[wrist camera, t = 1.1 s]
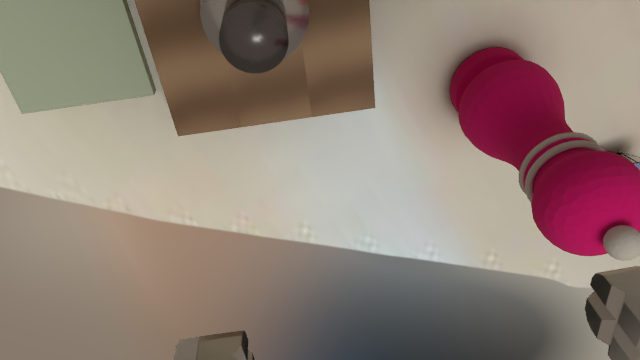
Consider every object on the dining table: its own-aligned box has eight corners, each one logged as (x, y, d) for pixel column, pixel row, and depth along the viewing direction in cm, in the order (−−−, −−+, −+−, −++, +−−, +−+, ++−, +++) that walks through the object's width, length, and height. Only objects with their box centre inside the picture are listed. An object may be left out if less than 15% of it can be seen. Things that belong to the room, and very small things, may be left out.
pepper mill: (431, 66, 40) (546, 236, 24) (520, 23, 38) (708, 171, 22) (458, 136, 44) (573, 322, 28) (539, 99, 42) (711, 272, 26)
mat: (-69, -79, 31) (-76, -77, 31) (92, -102, 31) (89, -100, 31) (26, 109, 39) (22, 113, 38) (155, 90, 39) (154, 94, 38)
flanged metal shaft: (199, -57, 33) (176, -14, 25) (295, -71, 33) (307, -32, 25) (221, 37, 37) (207, 104, 28) (308, 25, 37) (321, 88, 28)
